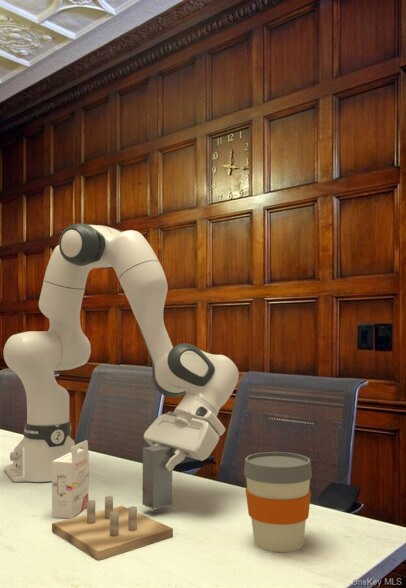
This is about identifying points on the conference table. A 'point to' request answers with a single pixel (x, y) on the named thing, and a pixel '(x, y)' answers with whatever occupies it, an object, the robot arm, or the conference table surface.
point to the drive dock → (102, 530)
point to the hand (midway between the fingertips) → (158, 466)
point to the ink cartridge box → (70, 482)
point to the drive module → (156, 477)
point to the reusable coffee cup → (278, 499)
